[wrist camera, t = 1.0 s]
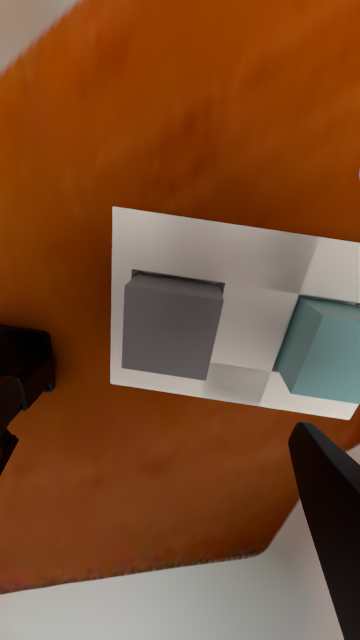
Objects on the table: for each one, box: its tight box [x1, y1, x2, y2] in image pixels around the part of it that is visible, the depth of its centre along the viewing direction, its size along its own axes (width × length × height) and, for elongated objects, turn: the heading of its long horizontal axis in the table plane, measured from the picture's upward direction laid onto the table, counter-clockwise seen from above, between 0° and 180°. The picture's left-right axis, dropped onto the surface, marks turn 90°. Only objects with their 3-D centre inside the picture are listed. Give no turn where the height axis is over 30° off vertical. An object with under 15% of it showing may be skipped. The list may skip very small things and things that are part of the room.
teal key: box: [275, 297, 360, 404], centre depth 14 cm, size 5×5×3 cm
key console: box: [110, 207, 360, 420], centre depth 17 cm, size 18×12×4 cm, turn 82°
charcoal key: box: [122, 273, 224, 381], centre depth 14 cm, size 5×5×3 cm
